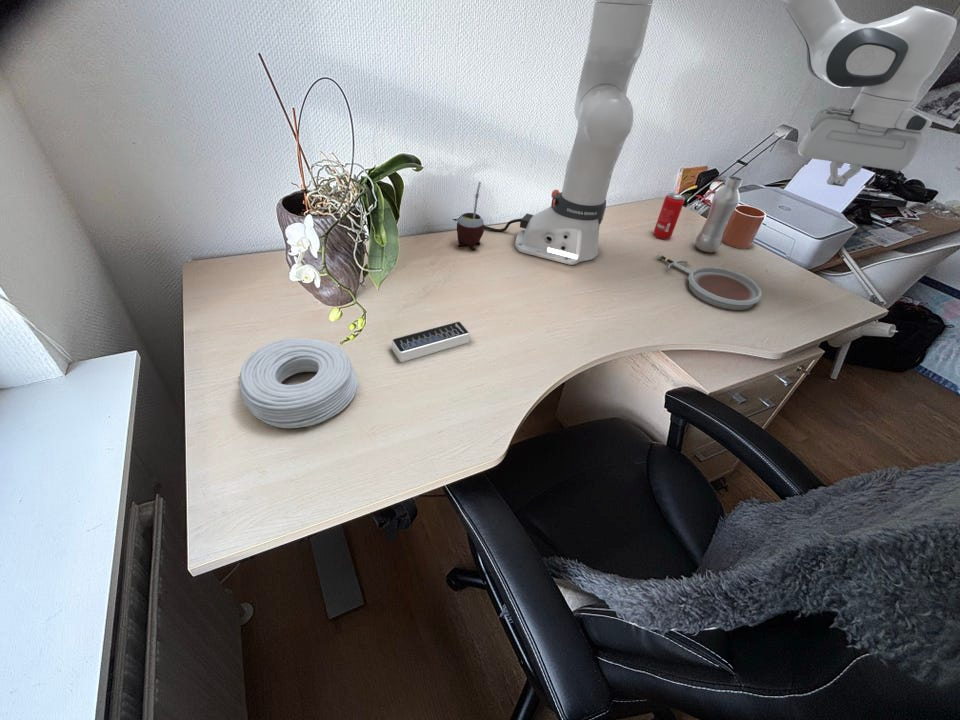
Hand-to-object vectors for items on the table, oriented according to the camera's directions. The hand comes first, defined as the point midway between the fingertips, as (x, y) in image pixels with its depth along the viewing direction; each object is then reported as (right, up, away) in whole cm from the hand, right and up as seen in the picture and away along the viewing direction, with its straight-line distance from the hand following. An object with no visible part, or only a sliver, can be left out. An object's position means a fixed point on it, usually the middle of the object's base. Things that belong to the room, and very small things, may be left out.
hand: (834, 184), depth 97 cm
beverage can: (-22, -1, +38) cm, 44 cm away
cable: (-105, -43, -21) cm, 115 cm away
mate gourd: (-78, -7, +24) cm, 82 cm away
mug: (-1, -1, +39) cm, 39 cm away
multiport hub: (-85, -35, -9) cm, 92 cm away
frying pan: (-19, -18, +18) cm, 32 cm away
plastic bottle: (-12, -6, +33) cm, 35 cm away
